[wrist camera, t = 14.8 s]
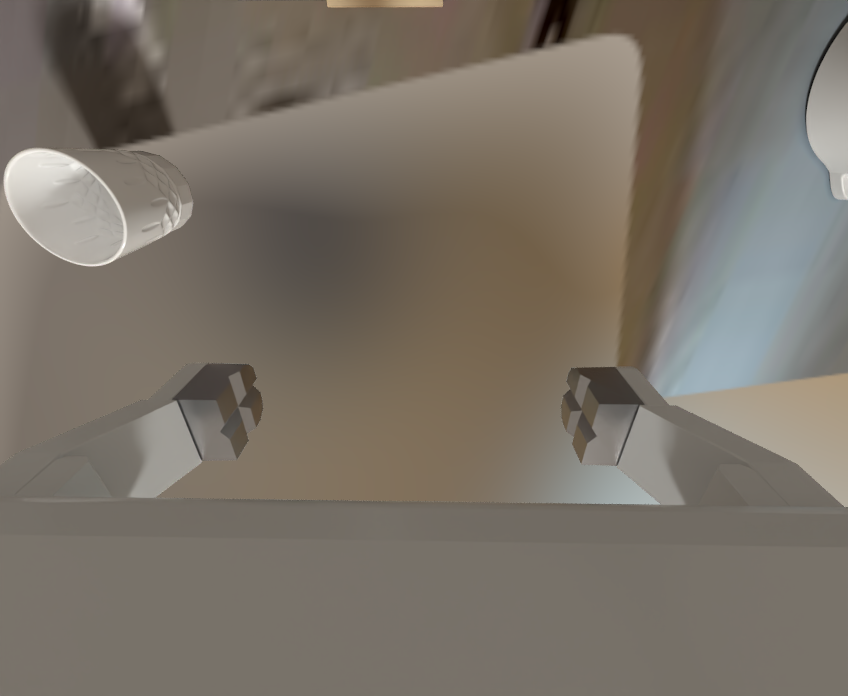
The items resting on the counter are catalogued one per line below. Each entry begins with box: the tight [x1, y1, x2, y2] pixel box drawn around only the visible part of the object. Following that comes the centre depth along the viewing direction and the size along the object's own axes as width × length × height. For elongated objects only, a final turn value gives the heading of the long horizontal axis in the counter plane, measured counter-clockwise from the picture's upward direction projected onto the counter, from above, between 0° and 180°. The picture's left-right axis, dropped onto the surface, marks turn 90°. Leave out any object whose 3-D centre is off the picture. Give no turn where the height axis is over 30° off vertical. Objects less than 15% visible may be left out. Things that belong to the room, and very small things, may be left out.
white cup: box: [4, 148, 193, 266], centre depth 31 cm, size 8×8×10 cm
